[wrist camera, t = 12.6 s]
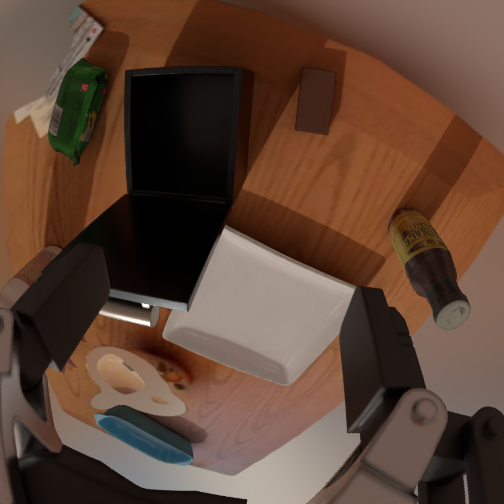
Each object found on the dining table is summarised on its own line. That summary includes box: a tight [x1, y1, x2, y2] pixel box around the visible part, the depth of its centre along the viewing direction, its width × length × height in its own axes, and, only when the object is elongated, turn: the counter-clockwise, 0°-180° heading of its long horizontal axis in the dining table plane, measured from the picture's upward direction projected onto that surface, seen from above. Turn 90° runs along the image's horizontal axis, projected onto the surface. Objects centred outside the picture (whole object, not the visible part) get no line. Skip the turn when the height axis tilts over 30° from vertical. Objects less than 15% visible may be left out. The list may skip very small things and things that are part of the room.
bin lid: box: [41, 194, 232, 327], centre depth 27 cm, size 16×13×6 cm
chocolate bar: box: [295, 67, 336, 135], centre depth 33 cm, size 8×4×2 cm, turn 176°
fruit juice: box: [0, 246, 62, 309], centre depth 41 cm, size 9×9×28 cm
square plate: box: [163, 225, 356, 386], centre depth 50 cm, size 27×27×4 cm
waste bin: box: [124, 66, 255, 206], centre depth 33 cm, size 15×13×10 cm
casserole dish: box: [94, 405, 193, 465], centre depth 83 cm, size 37×22×7 cm, turn 46°
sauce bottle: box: [388, 208, 471, 330], centre depth 32 cm, size 7×6×20 cm
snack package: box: [48, 58, 108, 165], centre depth 35 cm, size 7×16×5 cm, turn 152°
